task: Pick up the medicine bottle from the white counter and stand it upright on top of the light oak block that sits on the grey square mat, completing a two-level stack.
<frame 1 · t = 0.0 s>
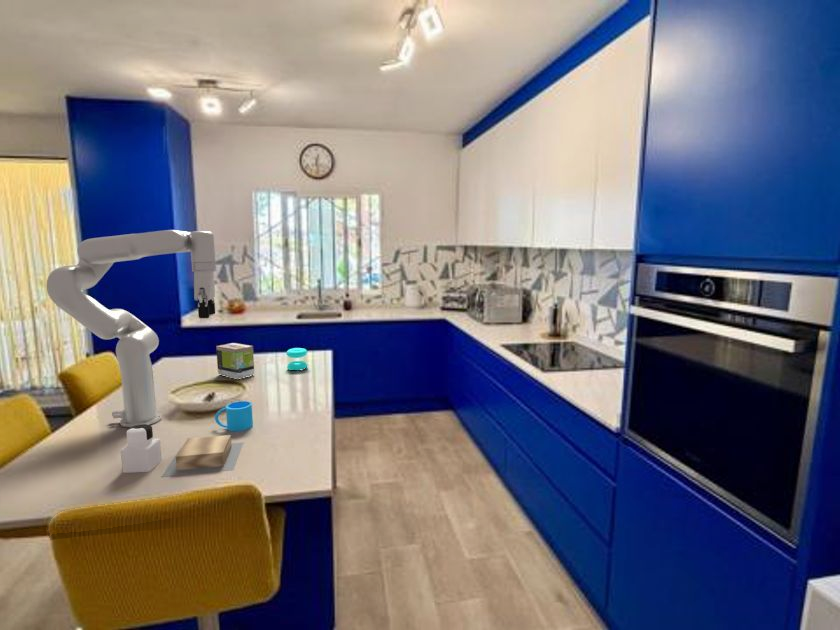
hand: (207, 316, 160), 37 cm above the kitchen island, tool pointing down, fingers open, 9 cm apart
medicine bottle: (143, 468, 126), on the kitchen island
tea box: (236, 376, 216), on the kitchen island
oak block: (205, 458, 131), point 1 cm above the kitchen island, touching grey square mat
turquoise hourglass: (297, 369, 228), on the kitchen island
mug: (234, 429, 154), on the kitchen island
grey square mat: (205, 460, 131), on the kitchen island
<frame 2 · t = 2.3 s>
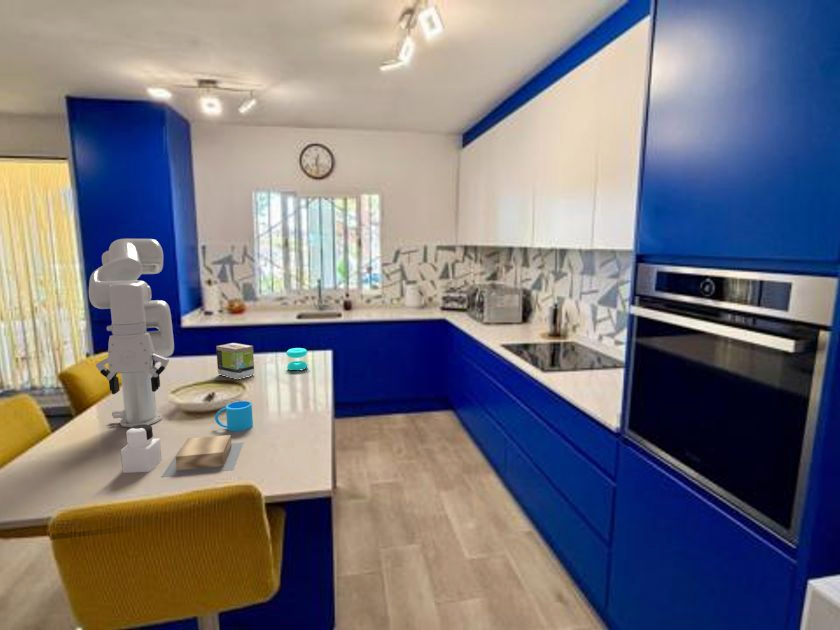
hand: (135, 391, 123), 22 cm above the kitchen island, tool pointing down, fingers open, 9 cm apart
nothing on the kitchen island moved.
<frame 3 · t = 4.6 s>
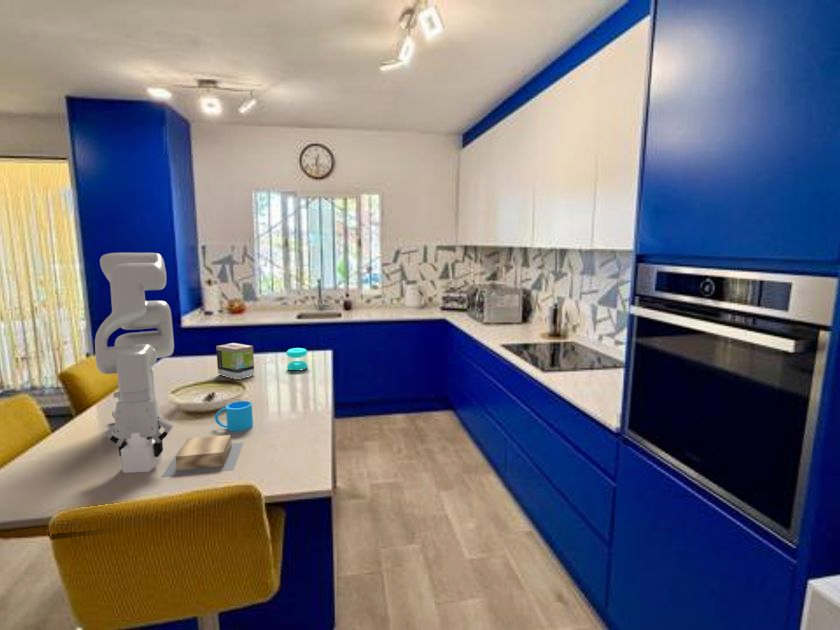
hand: (141, 456, 126), 3 cm above the kitchen island, tool pointing down, fingers closed on medicine bottle, 7 cm apart
medicine bottle: (143, 468, 126), on the kitchen island, touching gripper
everything else where it was.
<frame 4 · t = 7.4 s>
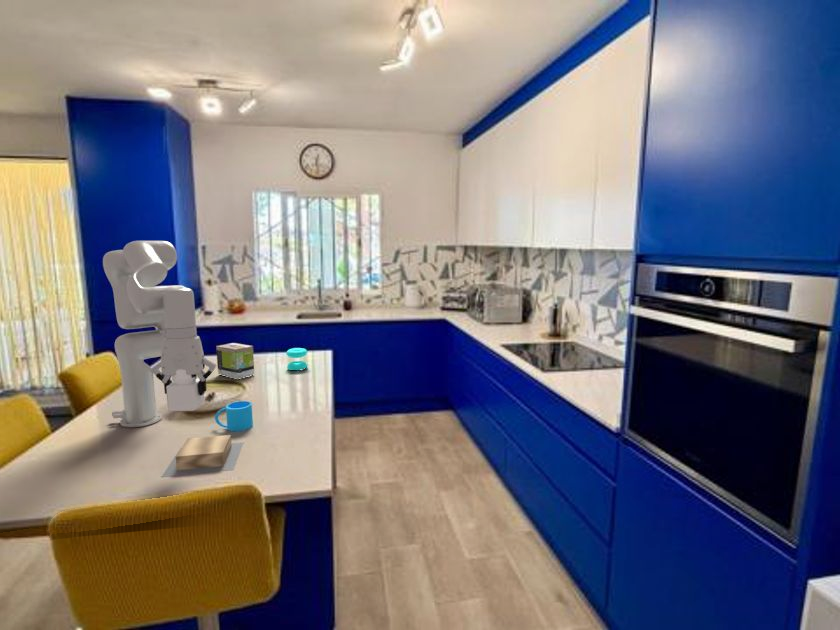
hand: (186, 394, 127), 20 cm above the kitchen island, tool pointing down, fingers closed on medicine bottle, 7 cm apart
medicine bottle: (187, 407, 127), point 16 cm above the kitchen island, touching gripper
everything else where it was.
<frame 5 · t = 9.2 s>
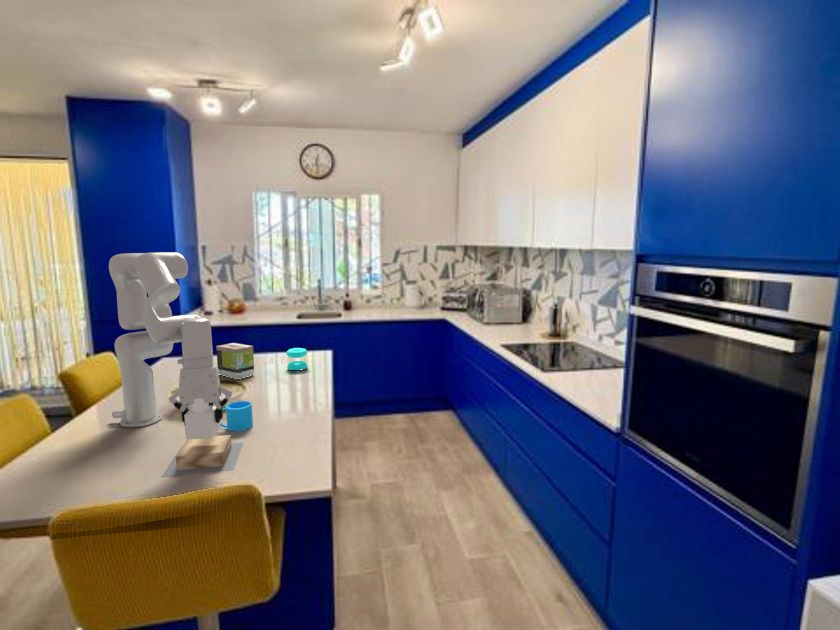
hand: (203, 422, 129), 12 cm above the kitchen island, tool pointing down, fingers closed on medicine bottle, 7 cm apart
medicine bottle: (203, 434, 129), point 8 cm above the kitchen island, touching gripper
everything else where it was.
when the fingers open (9 cm above the kitchen island, at t = 10.7 s): medicine bottle drops 1 cm, resting on oak block.
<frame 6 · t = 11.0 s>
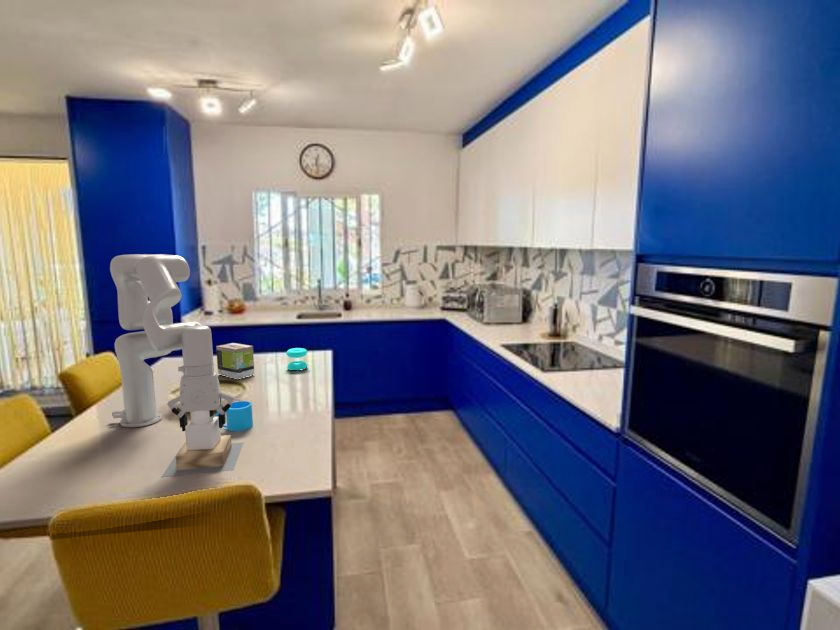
hand: (203, 427, 129), 10 cm above the kitchen island, tool pointing down, fingers open, 9 cm apart
medicine bottle: (204, 445, 130), point 4 cm above the kitchen island, touching oak block
oak block: (205, 458, 131), point 1 cm above the kitchen island, touching grey square mat, medicine bottle
everything else where it was.
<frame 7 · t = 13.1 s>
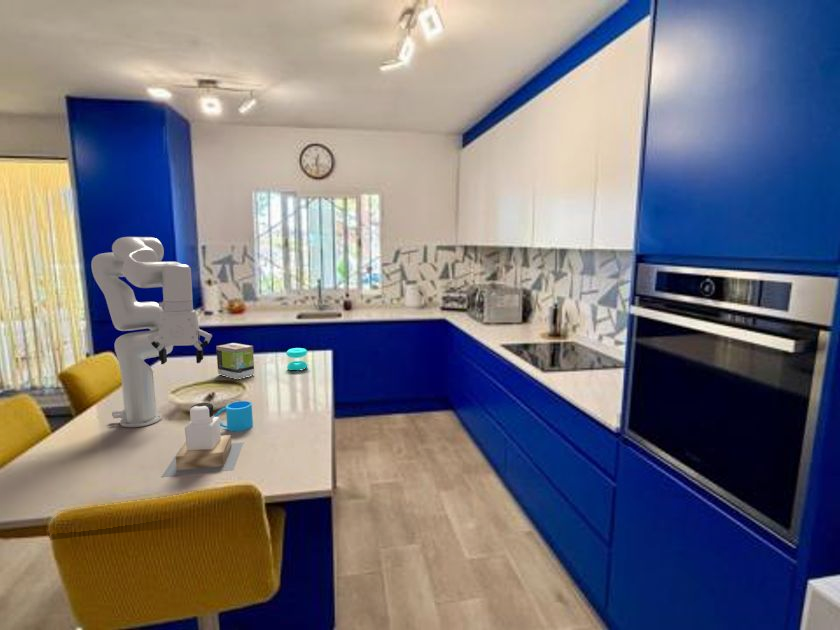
hand: (181, 362, 136), 27 cm above the kitchen island, tool pointing down, fingers open, 9 cm apart
nothing on the kitchen island moved.
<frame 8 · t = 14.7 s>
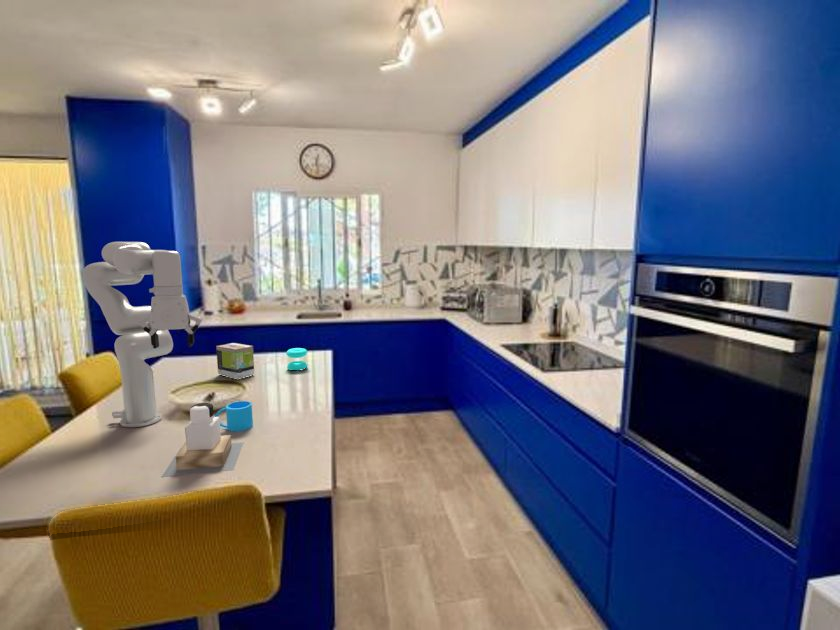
hand: (173, 346, 140), 30 cm above the kitchen island, tool pointing down, fingers open, 9 cm apart
nothing on the kitchen island moved.
at the end: medicine bottle 0.1 cm off-centre on the oak block, point 3.8 cm above the oak block's base; medicine bottle tilted 0°; the gripper is holding nothing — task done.
